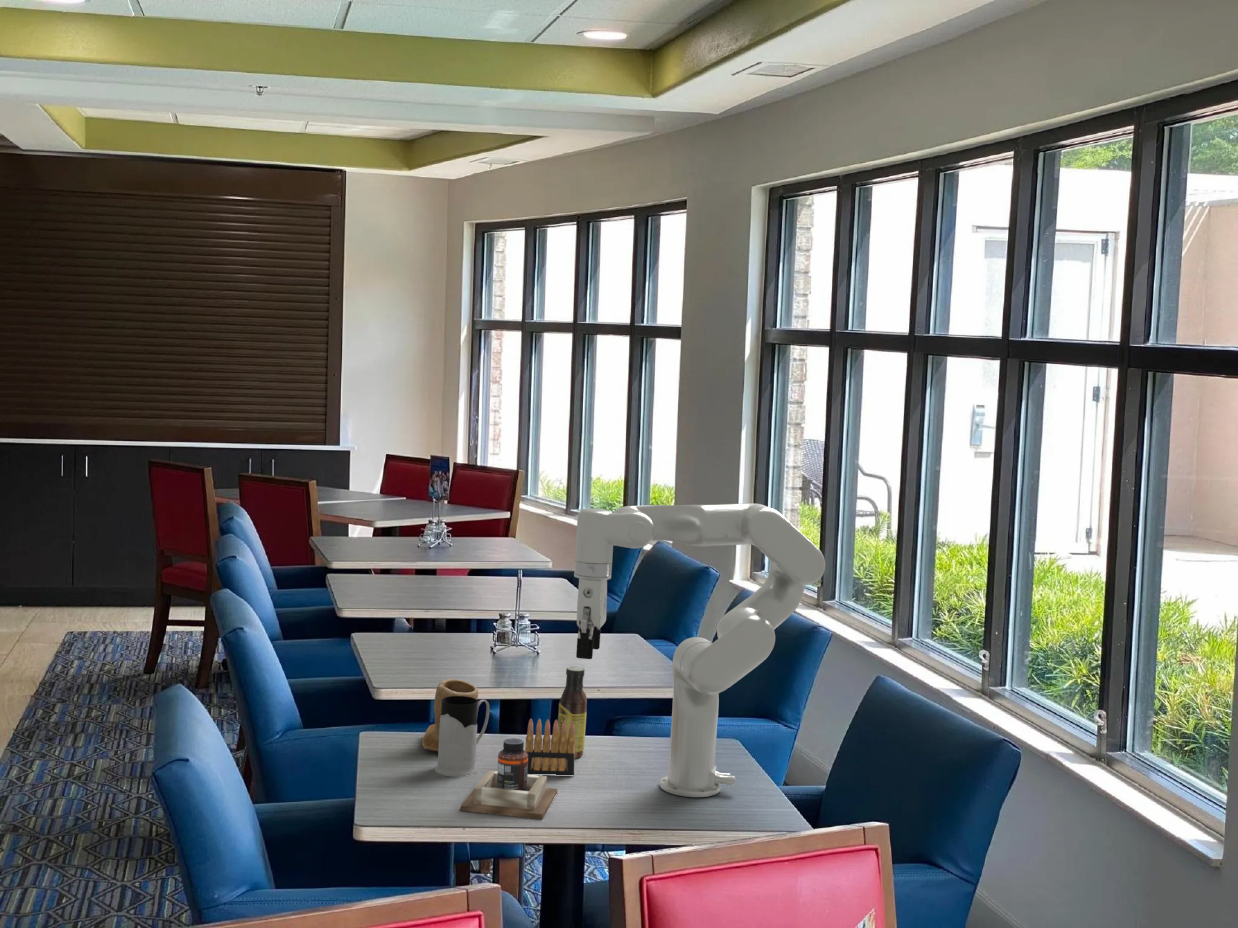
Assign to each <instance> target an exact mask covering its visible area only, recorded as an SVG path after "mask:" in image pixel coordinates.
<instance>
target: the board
mask: <svg viewBox="0 0 1238 928" xmlns="http://www.w3.org/2000/svg"><path fill="white" fill-rule="evenodd" d="M497 771H498V770H487V772H485V774H484V775H483V777H482V778H481V779H480V781H478V783H477V784H476V785H475V787H474V788H473V789H472V790H471V792H470V793H469V795H468V796H467V797H466V798H465V799H464V801H463V802H462V803H461V805H460V812H467V811H472V812H471V813H476V812H482V813H481V814H486V813H490V815H496V814H498V816H505V815H511V816H510V817H515V816H516V817H517V818H524V817H526V819H534V818H536V819H537V820H543V819H544V818H545V816H546V815H547V813H548V811H547V810H549V809H550V807H551V805H552V804H553V802H554V800H555V798H556V797H555V795H556V794H557V795H558V788H554V787H553V788H552V787H547V780H548V776H540V775H530V774H527V791H520V790H510V789H501V788H497ZM557 795H556V796H557ZM554 797H555V798H554ZM553 799H554V800H553ZM552 801H553V802H552ZM551 803H552V804H551ZM550 804H551V805H550ZM549 806H550V807H549ZM548 808H549V809H548ZM528 817H529V818H528Z"/></svg>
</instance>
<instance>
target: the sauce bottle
mask: <svg viewBox="0 0 1238 928" xmlns="http://www.w3.org/2000/svg"><path fill="white" fill-rule="evenodd" d="M565 670H566V671H565V674H566V680H565V681H566V683H565V686H564V690H563V692H562V694H561V697H560V699H559V702H558V715H557V722H558V738H559V740H560V735H561V727H562V723H563V721H564V720H565V721H566V727H567V743H568V737H569V729H570V724H571V722H572V720H573V721H574V725H575V756H574V759H577V758H578V757H579V758H581V757H582V756H583V754H584V749H585V741H586V740H585V739H586V726H587V712H588V711H587V705H588V700H587V699H588V698H587V695H586V693H585V692H584V689H583V687H584V677H585V668H584V667H582V666H573V665H572V666H568V667H566V669H565ZM558 751H559V747H558ZM579 758H578V759H579Z"/></svg>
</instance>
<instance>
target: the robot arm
mask: <svg viewBox="0 0 1238 928" xmlns="http://www.w3.org/2000/svg"><path fill="white" fill-rule="evenodd" d="M575 537H576V538H575V552H574V553H575V556H574V573H573V577H574V578H577V579H578V588H577V591H578V592H577V604H576V625H577V627H578V633H577V640H576V655H575V656H576V658H577V659H585V660H591V659H593V654H594V650H599V649H600V646H601V628H602V626H604V624H605V623H606V621H607V605H608V604H607V603H608V602H607V601H608V600H607V599H608V580H611V579H612V568H613V556H614V555H613V552H614V546H617V547H622V548H627V549H628V548H629V549H640V548H643V547H646V546H648V545H649V544H650V543H651V542H652V541H665V542H666V541H667V542H675V543H679V544H684V545H688V546H694V547H712V546H713V547H714V546H715V547H716V546H740V545H742V546H745V545H748V546H749V545H750V546H751V545H753V546H754V547H756V548H757V549H758V550H759V551H760V552H761V553H762V554H763V555H765V557H766V558H767V559H768V560H769V571H768V575H767V578H766V580H765V582H764V583H763V584H762V585H761V586H760V587H759V588H758V589H757V590H756V591H755V592H754V593H752V594H751V595H750V596H748V597H747V598H745V599H744V600H743V601H742V602H740V603H739V604H737V605H736V606H734V607H733V608H732V609H730V610H729V611H728V612H727V613H725V614H724V615H723V616H722V617H721V618H720V620H719V621H718V623H717V625H716V626H717V627H716V634H717V639H716V640H715V641H713V642H712V641H710V640H708V639H707V638H703V637H700V636H693V637H689V638H686V639H684V640H683V641H681V643H680V644H679V645H677V648H676V649H675V650H674V654H673V657H672V690H673V691H672V710H671V712H672V713H671V722H670V723H671V724H670V740H669V754H668V755H669V758H668V771H667V775H665V776H664V777H661V779H660V781H659V787H660V788H661V789H662V790H663V791H665V792H666V793H668V794H672V795H675V796H680V797H686V798H687V797H688V798H706V797H707V798H708V797H711V796H716V795H718V794H719V793H720V791H721V785H726V786H735V784H736V776H735V775H731V773H728V772H727V773H726V772H724V773H723V772H720V771H717V764H716V765H715V763H716V762H715V761H716V747H717V746H716V745H717V736H718V735H717V731H718V719H719V718H718V717H719V706H720V705H719V703H720V702H719V700H720V699H719V695H720V693H722V692H724V691H726V690H728V688H729V689H730V688H731V687H732V686H733V685H734V684H736V683H737V682H739V681H740V680H741V679H742V678H744V677H745V676H746V675H748V674H749V673H750V672H752V671H753V670H754V669H756V668H757V667H759V666H760V665H761V664H762V663H763V662H764V661H765V660H766V659H768V657H769V656H770V654H771V652H772V651H773V649H774V647H775V643H776V634H775V633H776V631H775V630H776V628H778V627H779V626H780V625H782V624H783V623H784V622H785V621H786V620H787V619H789V617H790V616H791V615H792V614H793V613H794V612H795V611H796V610H797V609H798V607H799V605H800V604H801V601H802V598H803V595H804V591H805V587H806V586H810V585H813V584H816V583H818V581H820V580H821V578H822V577H823V575H824V573H825V570H826V561H825V560H826V559H825V556H824V554H823V553H822V550H820V548H819V547H818V546H816V545H815V544H814V543H813V541H811V540H810V539H808V537H806V536H805V535H804V533H802V532H801V531H800V530H799V529H798V528H796V526H795V525H794V524H792V523H791V522H790V521H789V520H788V519H787V518H786V517H785V516H784V515H783V514H782V513H780V512H779V511H778V510H777V509H774V508H772V507H769V506H767V505H764V504H761V503H754V502H753V503H752V502H751V503H749V502H747V503H727V504H726V503H722V504H720V503H719V504H681V505H677V504H676V505H674V504H673V505H670V504H667V505H666V504H659V505H658V504H654V505H653V504H651V505H645V504H644V505H627V506H622V507H619V508H616V509H615V510H614V511H613V512H612V511H611V510H608V509H604V508H584V509H581V510H580V511H579V512H578V515H577V521H576V536H575Z"/></svg>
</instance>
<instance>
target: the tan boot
mask: <svg viewBox="0 0 1238 928" xmlns="http://www.w3.org/2000/svg"><path fill="white" fill-rule="evenodd" d="M450 696H466V697H472V698H475V699H477V700H478V698H479V697H478V696H479V690H478V688H477V687H476V686H475V685H474V684H472V683H471V682H468V681H465V680H462V679H457V678H448V679H444V680H442V681H440V682H439V684H438V685H437V687H436V690H435V695H434V701H433V713H434V724H433V723H432V724H431V725H429V726H428V728H427V729H426V730H425V732H424V735H423V737H422V740H421V745H422V747H423V748H424V749H425V750H429V751H433V752H438V749H439V730H440V716H441V707H442V699H443V698H445V697H450Z"/></svg>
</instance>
